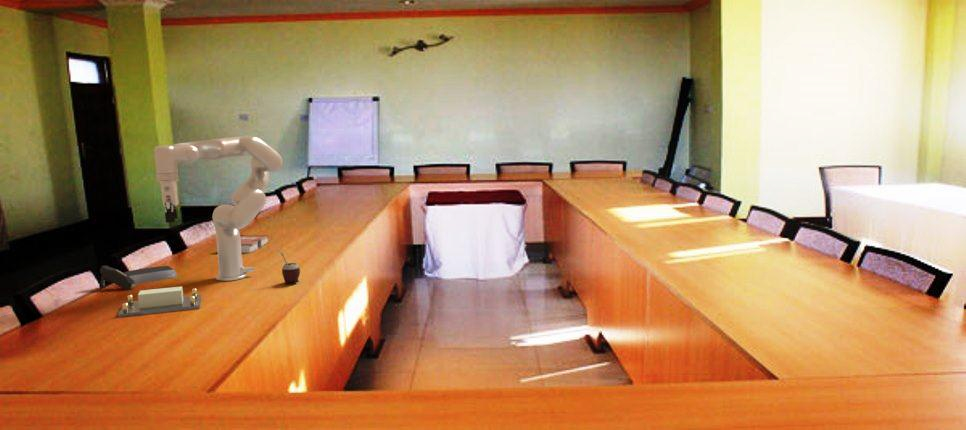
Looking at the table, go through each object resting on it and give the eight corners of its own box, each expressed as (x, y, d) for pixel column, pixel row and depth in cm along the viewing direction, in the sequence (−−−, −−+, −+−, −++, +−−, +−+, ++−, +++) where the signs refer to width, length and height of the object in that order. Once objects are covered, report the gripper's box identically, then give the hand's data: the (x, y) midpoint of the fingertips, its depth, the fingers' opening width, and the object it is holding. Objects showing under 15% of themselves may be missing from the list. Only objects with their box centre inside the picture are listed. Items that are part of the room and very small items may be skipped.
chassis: (201, 297, 244) (200, 286, 243) (199, 308, 230) (198, 297, 229) (125, 305, 235) (124, 294, 234) (118, 317, 221) (116, 305, 220)
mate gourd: (303, 282, 263) (301, 247, 261) (286, 286, 258) (284, 250, 255) (294, 279, 268) (292, 245, 266) (277, 283, 263) (274, 248, 260)
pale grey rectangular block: (183, 299, 238) (182, 286, 237) (182, 303, 232) (181, 290, 231) (141, 303, 233) (140, 290, 232) (139, 308, 227) (137, 294, 226)
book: (251, 254, 321) (250, 244, 320) (217, 254, 321) (216, 244, 320) (270, 243, 346) (269, 234, 346) (238, 243, 347) (237, 234, 346)
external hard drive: (178, 278, 275) (177, 269, 274) (128, 286, 263) (127, 276, 262) (170, 272, 285) (169, 263, 284) (121, 280, 273) (120, 271, 272)
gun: (126, 303, 257) (133, 282, 255) (93, 283, 258) (101, 263, 256) (131, 301, 260) (139, 280, 257) (98, 282, 261) (106, 261, 259)
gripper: (176, 178, 241) (180, 223, 244) (180, 174, 257) (183, 216, 260) (154, 179, 239) (158, 224, 241) (159, 175, 255) (163, 217, 257)
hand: (171, 220), depth 251 cm, fingers open, 9 cm apart
